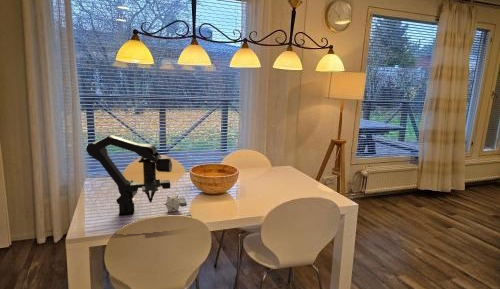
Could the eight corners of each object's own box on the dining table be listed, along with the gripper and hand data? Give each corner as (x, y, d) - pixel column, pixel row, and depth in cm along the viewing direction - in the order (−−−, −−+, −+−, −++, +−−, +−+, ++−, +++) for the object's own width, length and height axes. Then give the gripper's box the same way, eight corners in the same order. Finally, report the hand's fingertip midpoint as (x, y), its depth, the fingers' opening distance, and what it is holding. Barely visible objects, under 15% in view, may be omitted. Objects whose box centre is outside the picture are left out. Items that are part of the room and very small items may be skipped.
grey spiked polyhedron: (169, 218, 168) (157, 202, 168) (182, 208, 173) (171, 192, 173) (174, 215, 160) (162, 198, 160) (188, 205, 165) (176, 189, 165)
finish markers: (185, 218, 159) (184, 215, 159) (178, 200, 182) (178, 197, 182) (191, 218, 160) (191, 215, 160) (184, 199, 183) (184, 197, 183)
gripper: (128, 177, 149) (129, 210, 152) (171, 174, 155) (171, 206, 158) (128, 170, 160) (130, 201, 163) (169, 168, 166) (169, 198, 169)
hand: (150, 202), depth 163 cm, fingers closed
